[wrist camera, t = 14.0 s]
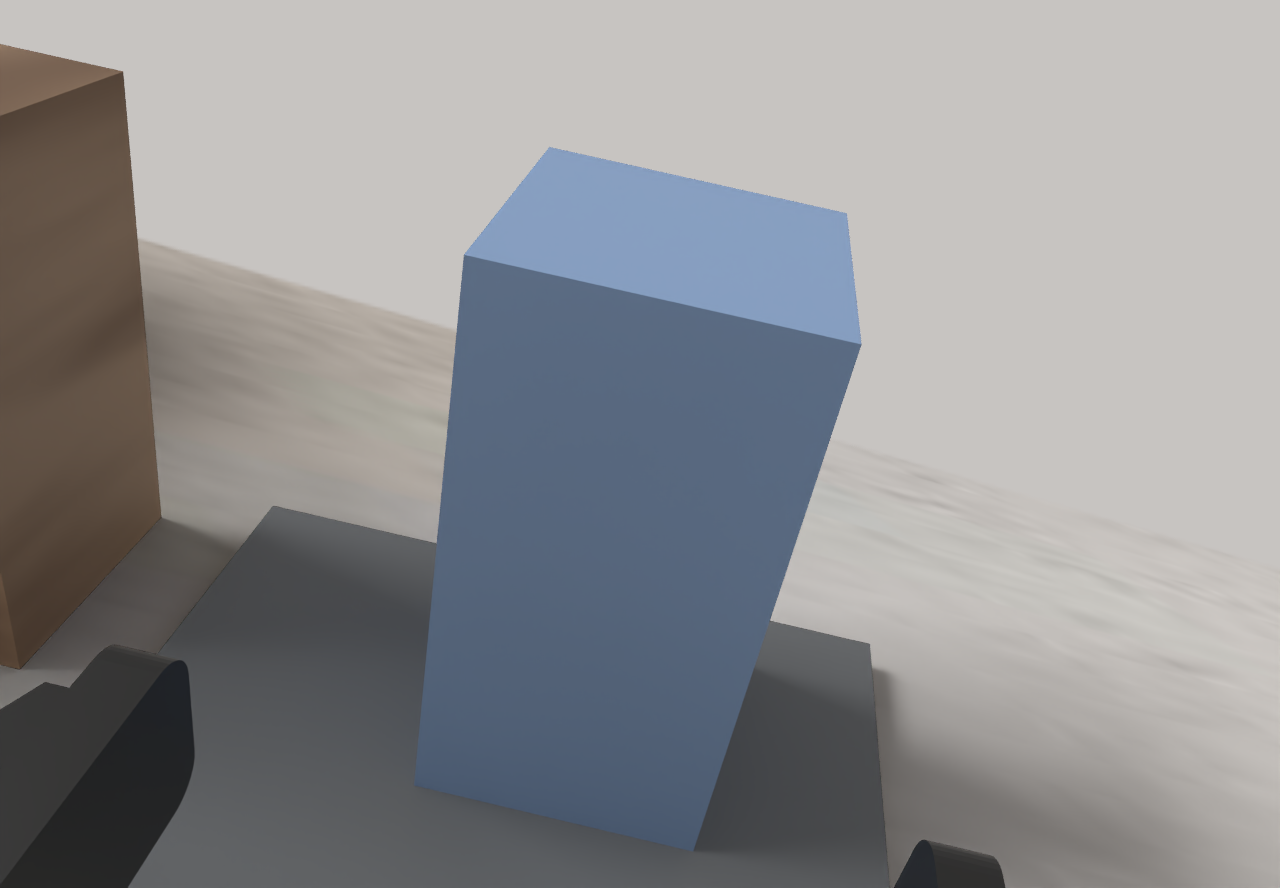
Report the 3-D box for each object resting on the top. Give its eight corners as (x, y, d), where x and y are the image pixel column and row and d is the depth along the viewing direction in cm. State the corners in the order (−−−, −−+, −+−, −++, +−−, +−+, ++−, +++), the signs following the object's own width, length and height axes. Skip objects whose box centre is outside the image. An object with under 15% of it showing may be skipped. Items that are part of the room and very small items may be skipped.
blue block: (414, 785, 18) (464, 254, 13) (488, 601, 22) (549, 147, 17) (693, 851, 18) (860, 344, 13) (714, 653, 22) (846, 212, 17)
